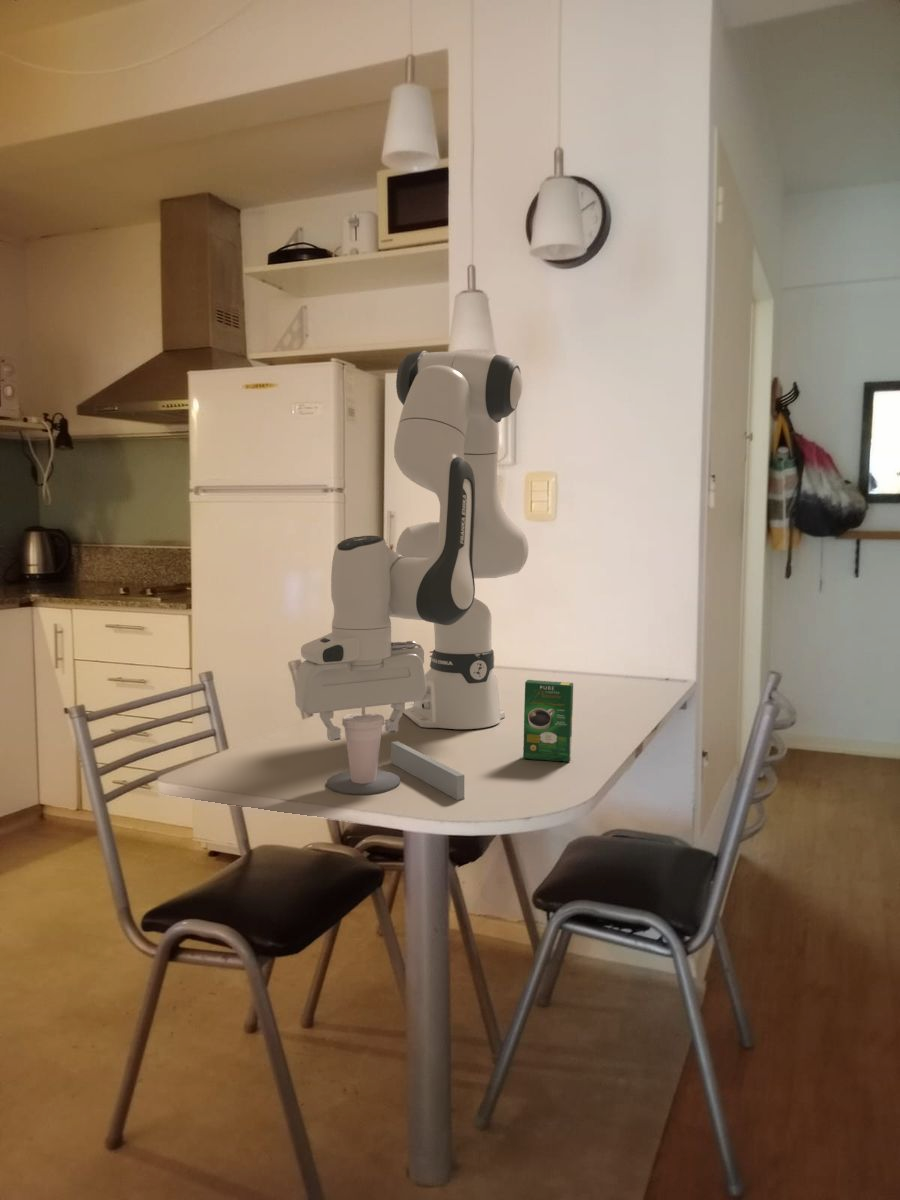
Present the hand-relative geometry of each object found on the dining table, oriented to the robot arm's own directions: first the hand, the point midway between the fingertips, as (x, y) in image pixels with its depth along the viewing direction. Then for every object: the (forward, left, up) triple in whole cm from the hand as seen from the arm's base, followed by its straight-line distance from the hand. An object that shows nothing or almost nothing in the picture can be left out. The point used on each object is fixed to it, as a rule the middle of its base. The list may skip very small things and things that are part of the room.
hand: (363, 735), depth 136 cm
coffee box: (+3, +32, -8) cm, 33 cm away
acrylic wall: (+3, +9, -7) cm, 12 cm away
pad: (0, 0, -7) cm, 7 cm away
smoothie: (0, 0, -7) cm, 7 cm away
